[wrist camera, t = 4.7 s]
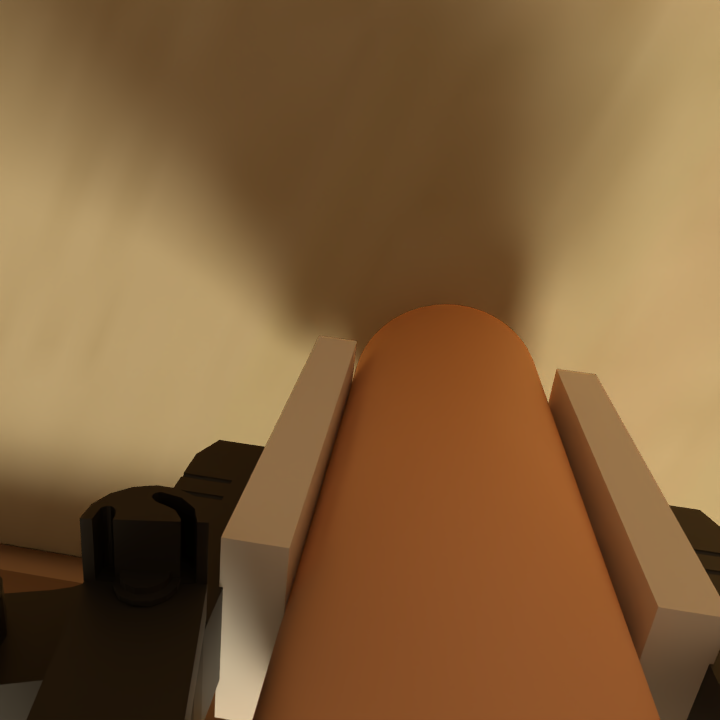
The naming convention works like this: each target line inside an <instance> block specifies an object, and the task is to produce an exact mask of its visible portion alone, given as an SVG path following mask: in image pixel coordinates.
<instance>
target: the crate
mask: <svg viewBox="0 0 720 720" xmlns="http://www.w3.org/2000/svg"><path fill="white" fill-rule="evenodd" d="M0 576H1V578H2V579H3V588H4V593H17V592H30V591H43V590H55V589H61V588H68V587H74V586H77V585H80V584H83V582H84V580H83V563H82V558H81V557H75V556H69V555H63V554H57V553H51V552H45V551H40V550H34V549H28V548H22V547H16V546H10V545H4V544H0ZM215 692H216V691H215ZM205 720H228V719H222V718H217V717H215V693H214V696H213V699H212V701H211V704H210V707H209V709H208V712H207V715H206V718H205Z"/></svg>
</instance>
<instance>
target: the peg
mask: <svg viewBox="0 0 720 720" xmlns="http://www.w3.org/2000/svg"><path fill="white" fill-rule="evenodd" d="M252 720H660V717H659V714H658V712H657V709H656V706H655V703H654V700H653V697H652V695H651V692H650V689H649V686H648V683H647V680H646V678H645V675H644V672H643V669H642V666H641V664H640V661H639V658H638V655H637V652H636V649H635V647H634V644H633V641H632V638H631V635H630V632H629V630H628V627H627V624H626V621H625V618H624V616H623V613H622V610H621V607H620V604H619V601H618V599H617V596H616V593H615V590H614V587H613V585H612V582H611V579H610V576H609V573H608V570H607V568H606V565H605V562H604V559H603V556H602V553H601V551H600V548H599V545H598V542H597V539H596V537H595V534H594V531H593V528H592V525H591V522H590V520H589V517H588V514H587V511H586V508H585V506H584V503H583V500H582V497H581V494H580V491H579V489H578V486H577V483H576V480H575V477H574V474H573V472H572V469H571V466H570V463H569V460H568V458H567V455H566V452H565V449H564V446H563V443H562V441H561V438H560V435H559V432H558V429H557V426H556V424H555V421H554V418H553V415H552V412H551V410H550V407H549V404H548V401H547V398H546V395H545V393H544V390H543V387H542V384H541V381H540V379H539V376H538V373H537V370H536V367H535V364H534V362H533V359H532V357H531V355H530V353H529V351H528V349H527V347H526V346H525V344H524V343H523V341H522V340H521V339H520V338H519V337H518V335H517V334H516V333H515V332H514V331H513V330H512V329H511V328H509V327H508V326H507V325H506V324H505V323H503V322H502V321H500V320H499V319H497V318H496V317H494V316H492V315H490V314H488V313H486V312H484V311H481V310H478V309H475V308H472V307H467V306H462V305H452V304H440V305H430V306H425V307H420V308H417V309H414V310H411V311H408V312H406V313H404V314H402V315H400V316H398V317H396V318H394V319H393V320H391V321H390V322H388V323H387V324H386V325H385V326H383V327H382V328H381V329H380V330H379V331H378V332H377V333H376V334H375V335H374V336H373V337H372V338H371V340H370V341H369V343H368V344H367V345H366V347H365V348H364V350H363V352H362V354H361V356H360V358H359V361H358V364H357V367H356V371H355V374H354V377H353V381H352V385H351V389H350V392H349V395H348V399H347V402H346V406H345V409H344V412H343V416H342V419H341V423H340V426H339V429H338V433H337V436H336V440H335V443H334V446H333V450H332V453H331V457H330V460H329V463H328V467H327V470H326V474H325V477H324V480H323V484H322V487H321V491H320V494H319V497H318V501H317V504H316V508H315V511H314V514H313V518H312V521H311V525H310V528H309V531H308V535H307V538H306V542H305V545H304V548H303V552H302V555H301V559H300V562H299V565H298V569H297V572H296V576H295V579H294V582H293V586H292V589H291V593H290V596H289V599H288V603H287V606H286V610H285V613H284V616H283V619H282V622H281V625H280V628H279V631H278V635H277V638H276V641H275V645H274V648H273V652H272V655H271V658H270V662H269V665H268V669H267V672H266V675H265V679H264V682H263V685H262V689H261V692H260V696H259V699H258V702H257V706H256V709H255V713H254V716H253V719H252Z"/></svg>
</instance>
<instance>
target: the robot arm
mask: <svg viewBox="0 0 720 720" xmlns="http://www.w3.org/2000/svg"><path fill="white" fill-rule="evenodd" d="M356 344H357V341H354V340H347V339H340V338H333V337H326V336H319V337H318V339H317V341H316V343H315V345H314V347H313V349H312V351H311V353H310V356H309V358H308V360H307V362H306V364H305V366H304V368H303V370H302V372H301V374H300V376H299V378H298V380H297V382H296V384H295V386H294V388H293V391H292V393H291V395H290V397H289V399H288V401H287V403H286V405H285V407H284V409H283V411H282V413H281V415H280V417H279V419H278V421H277V423H276V425H275V428H274V430H273V432H272V434H271V436H270V438H269V440H268V442H267V444H266V446H265V447H262V446H256V445H249V444H242V443H236V442H229V441H223V440H219V441H217V442H215V443H214V444H212V445H211V446H209V447H207V448H206V449H204V450H202V451H201V452H199V453H197V454H196V455H195V457H194V458H193V460H192V461H191V463H190V464H189V466H188V467H187V469H186V470H185V472H184V475H183V477H181V478H180V479H179V481H178V482H177V484H176V485H175V487H174V488H170V487H164V486H157V485H156V486H141V487H131V488H128V489H124V490H121V491H117V492H114V493H110V494H108V495H107V496H105V497H103V498H102V499H100V500H98V501H96V502H95V503H93V504H91V506H90V507H89V508H88V509H87V510H86V512H85V513H84V514H83V515H82V516H81V518H80V530H81V546H82V563H83V580H84V582H83V584H80V585H77V586H74V587H68V588H61V589H55V590H43V591H30V592H17V593H4V588H3V579H2V578H1V576H0V720H205V718H206V715H207V712H208V709H209V707H210V704H211V701H212V699H213V696H214V693H215V717H217V718H222V719H228V720H252V719H253V716H254V713H255V709H256V706H257V702H258V699H259V696H260V692H261V689H262V685H263V682H264V679H265V675H266V672H267V669H268V665H269V662H270V658H271V655H272V652H273V648H274V645H275V641H276V638H277V635H278V631H279V628H280V625H281V622H282V619H283V616H284V613H285V610H286V606H287V603H288V599H289V596H290V593H291V589H292V586H293V582H294V579H295V576H296V572H297V569H298V565H299V562H300V559H301V555H302V552H303V548H304V545H305V542H306V538H307V535H308V531H309V528H310V525H311V521H312V518H313V514H314V511H315V508H316V504H317V501H318V497H319V494H320V491H321V487H322V484H323V480H324V477H325V474H326V470H327V467H328V463H329V460H330V457H331V453H332V450H333V446H334V443H335V440H336V436H337V433H338V429H339V426H340V423H341V419H342V416H343V412H344V409H345V406H346V402H347V399H348V395H349V392H350V389H351V385H352V379H353V370H354V361H355V352H356ZM548 404H549V407H550V410H551V412H552V415H553V418H554V421H555V424H556V426H557V429H558V432H559V435H560V438H561V441H562V443H563V446H564V449H565V452H566V455H567V458H568V460H569V463H570V466H571V469H572V472H573V474H574V477H575V480H576V483H577V486H578V489H579V491H580V494H581V497H582V500H583V503H584V506H585V508H586V511H587V514H588V517H589V520H590V522H591V525H592V528H593V531H594V534H595V537H596V539H597V542H598V545H599V548H600V551H601V553H602V556H603V559H604V562H605V565H606V568H607V570H608V573H609V576H610V579H611V582H612V585H613V587H614V590H615V593H616V596H617V599H618V601H619V604H620V607H621V610H622V613H623V616H624V618H625V621H626V624H627V627H628V630H629V632H630V635H631V638H632V641H633V644H634V647H635V649H636V652H637V655H638V658H639V661H640V664H641V666H642V669H643V672H644V675H645V678H646V680H647V683H648V686H649V689H650V692H651V695H652V697H653V700H654V703H655V706H656V709H657V712H658V714H659V717H660V720H720V526H718V525H717V524H716V523H715V522H714V521H712V520H711V519H710V518H709V517H708V516H706V515H705V514H704V513H703V512H701V511H700V510H696V509H690V508H683V507H676V506H670V505H669V504H668V503H667V501H666V499H665V497H664V496H663V494H662V492H661V490H660V488H659V487H658V485H657V483H656V481H655V479H654V478H653V476H652V474H651V472H650V470H649V469H648V467H647V465H646V463H645V461H644V460H643V458H642V456H641V454H640V452H639V451H638V449H637V447H636V445H635V444H634V442H633V440H632V438H631V436H630V435H629V433H628V431H627V429H626V427H625V426H624V424H623V422H622V420H621V418H620V417H619V415H618V413H617V411H616V409H615V408H614V406H613V404H612V402H611V400H610V399H609V397H608V395H607V393H606V392H605V390H604V388H603V386H602V384H601V383H600V381H599V379H598V377H597V375H596V374H590V373H583V372H576V371H568V370H561V369H557V370H556V374H555V378H554V382H553V386H552V391H551V395H550V399H549V403H548ZM215 691H216V692H215Z"/></svg>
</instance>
